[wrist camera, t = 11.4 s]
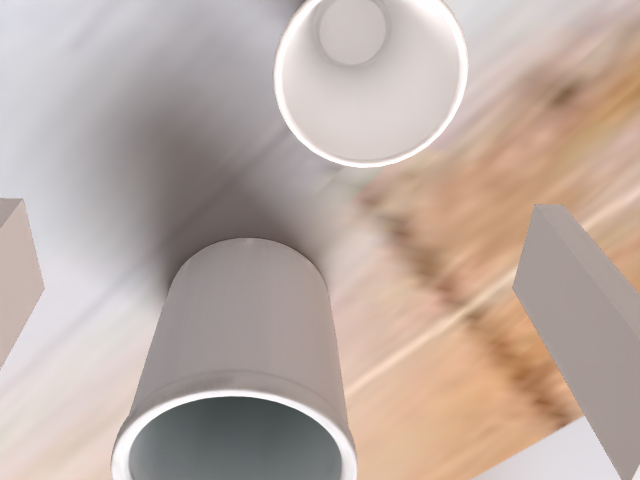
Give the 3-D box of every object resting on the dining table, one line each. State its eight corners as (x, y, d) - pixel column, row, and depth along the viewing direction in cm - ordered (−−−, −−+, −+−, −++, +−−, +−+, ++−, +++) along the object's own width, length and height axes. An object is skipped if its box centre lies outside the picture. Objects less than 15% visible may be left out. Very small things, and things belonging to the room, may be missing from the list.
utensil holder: (214, 195, 46) (178, 353, 31) (372, 279, 50) (406, 450, 35) (133, 324, 52) (70, 507, 37) (280, 387, 57) (277, 572, 42)
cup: (317, -85, 36) (327, -69, 27) (455, -8, 39) (508, 31, 29) (253, 65, 40) (242, 123, 31) (380, 124, 43) (406, 195, 34)
